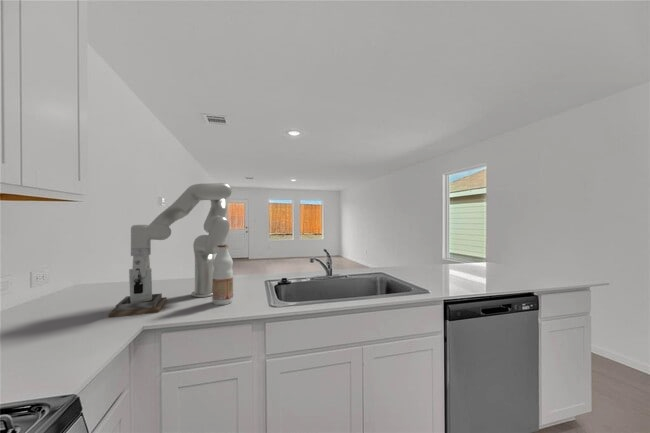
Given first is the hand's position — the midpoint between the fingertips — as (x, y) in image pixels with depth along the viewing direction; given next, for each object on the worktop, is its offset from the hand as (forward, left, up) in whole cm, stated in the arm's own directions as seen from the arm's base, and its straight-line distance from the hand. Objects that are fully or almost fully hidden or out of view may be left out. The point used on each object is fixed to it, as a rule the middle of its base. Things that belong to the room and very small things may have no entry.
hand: (140, 290), depth 125 cm
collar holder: (0, 0, -8) cm, 8 cm away
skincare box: (0, 0, -5) cm, 5 cm away
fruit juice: (-35, +4, -8) cm, 36 cm away
